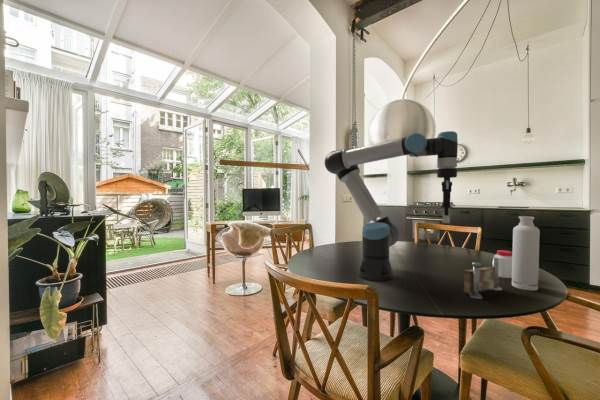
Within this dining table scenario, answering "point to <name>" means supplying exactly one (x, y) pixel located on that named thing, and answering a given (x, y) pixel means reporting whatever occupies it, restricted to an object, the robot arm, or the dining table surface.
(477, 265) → the latch post
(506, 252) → the pill bottle
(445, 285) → the dining table surface
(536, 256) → the bottle
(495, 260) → the hinge post
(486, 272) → the gate
